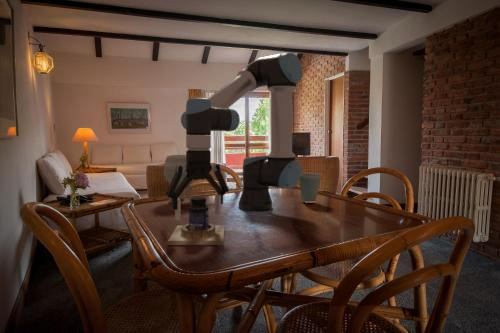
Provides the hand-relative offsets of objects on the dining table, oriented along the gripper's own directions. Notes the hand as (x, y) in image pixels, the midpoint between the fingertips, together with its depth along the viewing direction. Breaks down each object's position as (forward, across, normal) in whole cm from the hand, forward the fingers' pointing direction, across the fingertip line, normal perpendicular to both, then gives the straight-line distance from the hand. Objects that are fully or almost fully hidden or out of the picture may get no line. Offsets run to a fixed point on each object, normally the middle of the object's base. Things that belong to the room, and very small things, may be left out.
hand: (198, 217), depth 98 cm
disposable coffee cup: (+6, -67, -20) cm, 70 cm away
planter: (+6, -14, -53) cm, 55 cm away
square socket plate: (+6, 0, 0) cm, 6 cm away
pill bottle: (+5, 0, 0) cm, 5 cm away
